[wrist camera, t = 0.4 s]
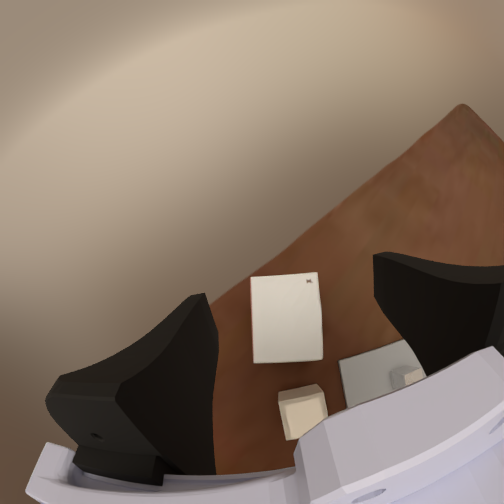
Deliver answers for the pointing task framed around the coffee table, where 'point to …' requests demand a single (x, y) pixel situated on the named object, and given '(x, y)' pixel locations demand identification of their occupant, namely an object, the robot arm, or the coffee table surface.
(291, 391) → the beige cardboard cube
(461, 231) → the coffee table surface
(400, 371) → the post
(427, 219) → the coffee table surface
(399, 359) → the base board
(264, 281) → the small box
